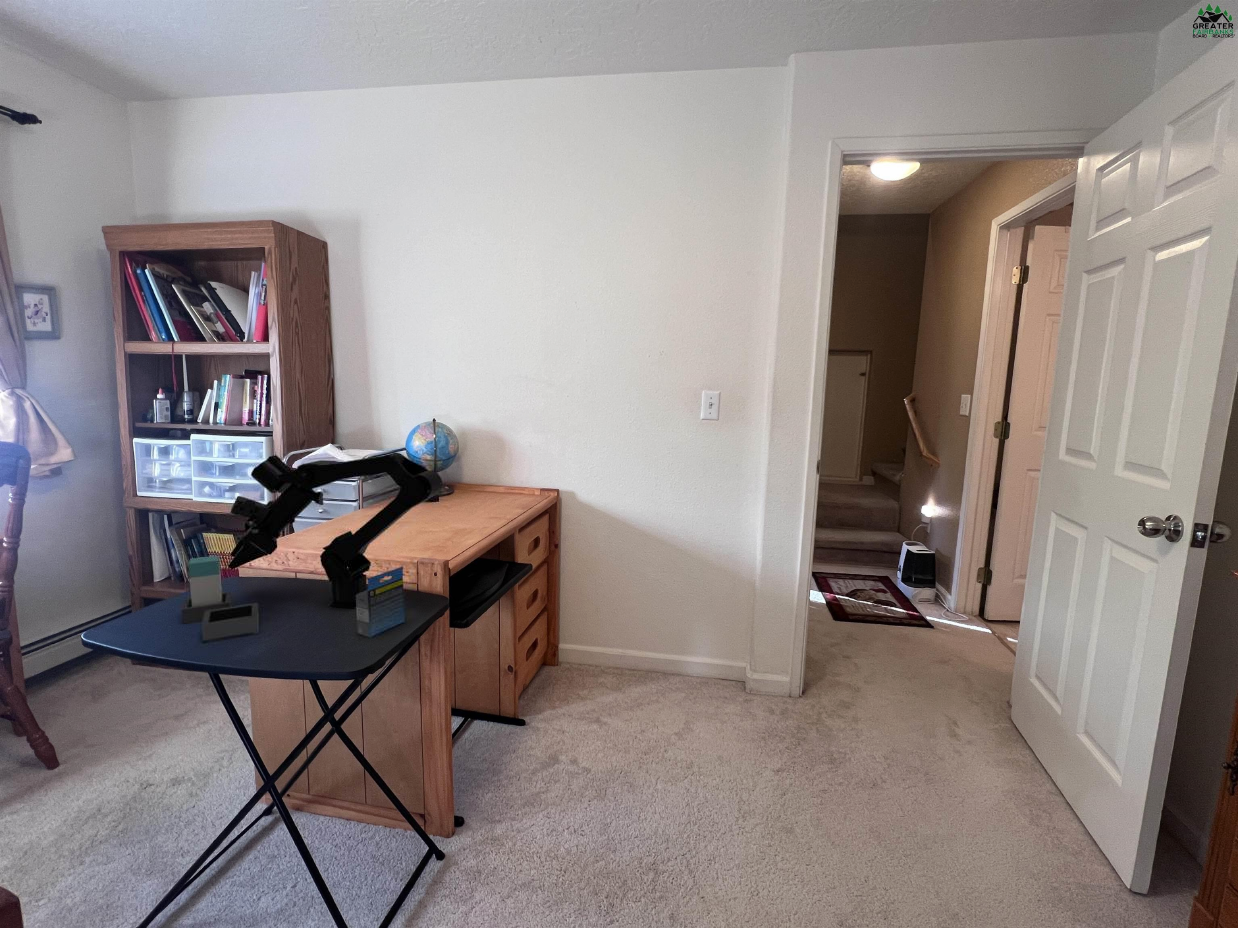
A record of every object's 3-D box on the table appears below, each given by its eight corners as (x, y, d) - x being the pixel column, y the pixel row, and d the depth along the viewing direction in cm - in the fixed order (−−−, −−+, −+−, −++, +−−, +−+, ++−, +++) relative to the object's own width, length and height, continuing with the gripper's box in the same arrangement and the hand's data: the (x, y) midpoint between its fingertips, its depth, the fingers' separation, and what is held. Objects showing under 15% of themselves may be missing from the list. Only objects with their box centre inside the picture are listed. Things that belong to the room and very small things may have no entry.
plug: (223, 608, 126) (219, 555, 124) (222, 614, 123) (218, 560, 121) (194, 612, 123) (190, 558, 122) (193, 619, 120) (188, 563, 118)
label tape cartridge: (392, 618, 123) (390, 562, 122) (405, 622, 122) (404, 565, 120) (356, 633, 115) (354, 574, 114) (370, 638, 114) (367, 578, 112)
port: (258, 618, 121) (257, 602, 121) (258, 633, 115) (257, 616, 114) (206, 627, 117) (204, 610, 116) (203, 642, 110) (201, 625, 109)
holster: (231, 604, 128) (231, 591, 128) (230, 616, 122) (229, 602, 122) (186, 611, 124) (185, 598, 123) (182, 623, 118) (181, 609, 117)
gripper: (256, 476, 132) (200, 528, 128) (254, 491, 116) (191, 550, 112) (297, 507, 137) (245, 558, 133) (301, 525, 122) (242, 583, 118)
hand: (231, 561), depth 124 cm, fingers open, 9 cm apart
